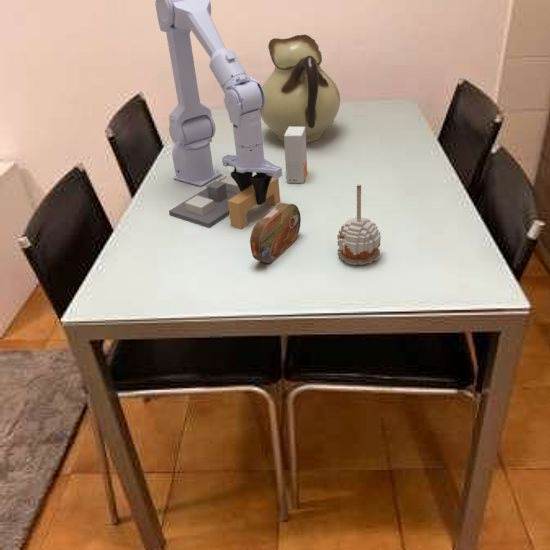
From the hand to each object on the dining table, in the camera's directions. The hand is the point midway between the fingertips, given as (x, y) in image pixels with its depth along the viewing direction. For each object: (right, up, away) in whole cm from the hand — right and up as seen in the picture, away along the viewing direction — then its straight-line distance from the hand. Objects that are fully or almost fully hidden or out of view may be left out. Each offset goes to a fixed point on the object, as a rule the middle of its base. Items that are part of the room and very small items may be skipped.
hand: (255, 201), depth 130 cm
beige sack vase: (+12, +23, +37) cm, 45 cm away
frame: (0, -2, +2) cm, 3 cm away
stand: (-9, +1, +7) cm, 11 cm away
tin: (+5, -11, -11) cm, 17 cm away
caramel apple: (+20, -13, -15) cm, 28 cm away
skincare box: (+10, +7, +15) cm, 19 cm away
